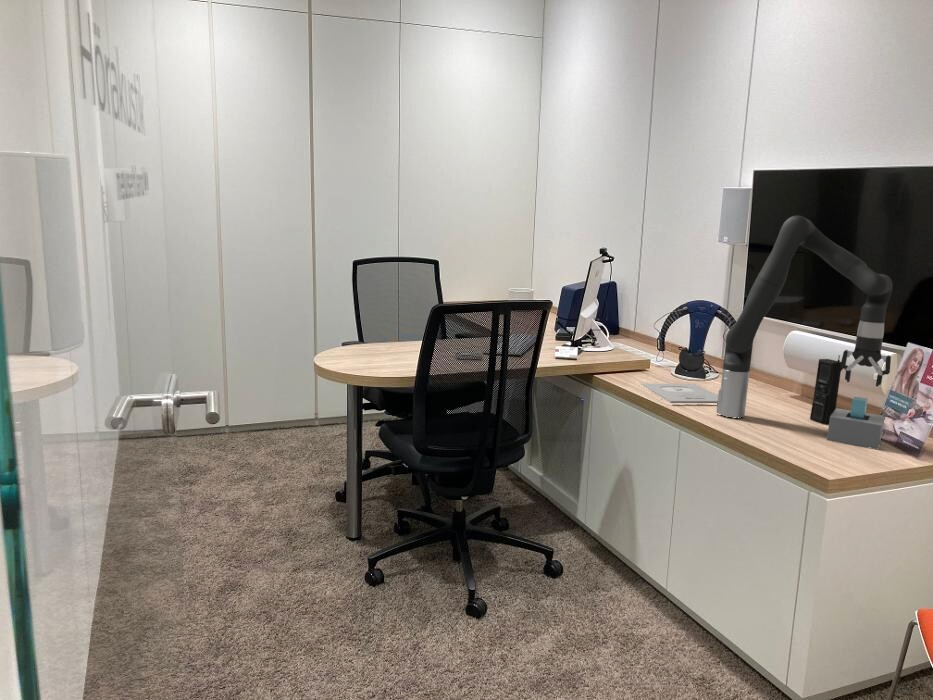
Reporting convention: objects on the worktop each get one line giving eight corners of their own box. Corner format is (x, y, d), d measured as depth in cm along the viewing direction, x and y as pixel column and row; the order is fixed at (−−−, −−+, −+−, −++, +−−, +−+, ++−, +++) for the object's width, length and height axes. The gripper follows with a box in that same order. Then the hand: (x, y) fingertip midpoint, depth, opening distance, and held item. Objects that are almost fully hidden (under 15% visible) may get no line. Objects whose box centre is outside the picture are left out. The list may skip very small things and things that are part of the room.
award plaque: (670, 406, 281) (670, 401, 281) (639, 388, 310) (639, 383, 310) (729, 406, 285) (730, 401, 285) (693, 388, 314) (694, 383, 314)
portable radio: (806, 418, 270) (814, 352, 266) (818, 417, 272) (827, 351, 268) (823, 424, 263) (832, 356, 258) (835, 423, 265) (845, 355, 261)
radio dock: (826, 440, 243) (829, 416, 242) (833, 430, 255) (836, 408, 254) (878, 449, 235) (881, 425, 234) (882, 439, 247) (885, 416, 246)
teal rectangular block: (847, 437, 244) (852, 399, 242) (849, 433, 248) (854, 396, 246) (860, 439, 242) (866, 401, 240) (862, 436, 246) (867, 398, 244)
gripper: (844, 333, 240) (837, 382, 243) (894, 339, 232) (886, 389, 235) (847, 331, 246) (840, 378, 249) (895, 337, 238) (888, 385, 241)
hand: (862, 383), depth 242 cm, fingers open, 8 cm apart
